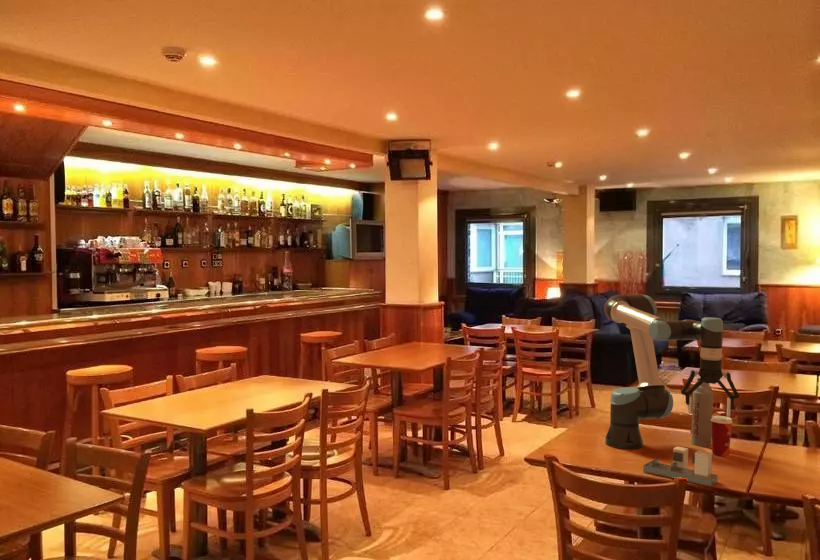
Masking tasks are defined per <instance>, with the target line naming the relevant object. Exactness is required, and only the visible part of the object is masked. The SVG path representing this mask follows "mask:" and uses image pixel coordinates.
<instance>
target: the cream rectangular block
mask: <svg viewBox="0 0 820 560" xmlns="http://www.w3.org/2000/svg"><path fill="white" fill-rule="evenodd" d="M674 462H676V463H678V467H681V468H686V469H689V468H688V467H689V466H688V465H689V464H688V463H689V448H688V447H687V448H686V447H683V446H676V447H673V449H672V464H673V463H674Z"/></svg>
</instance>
